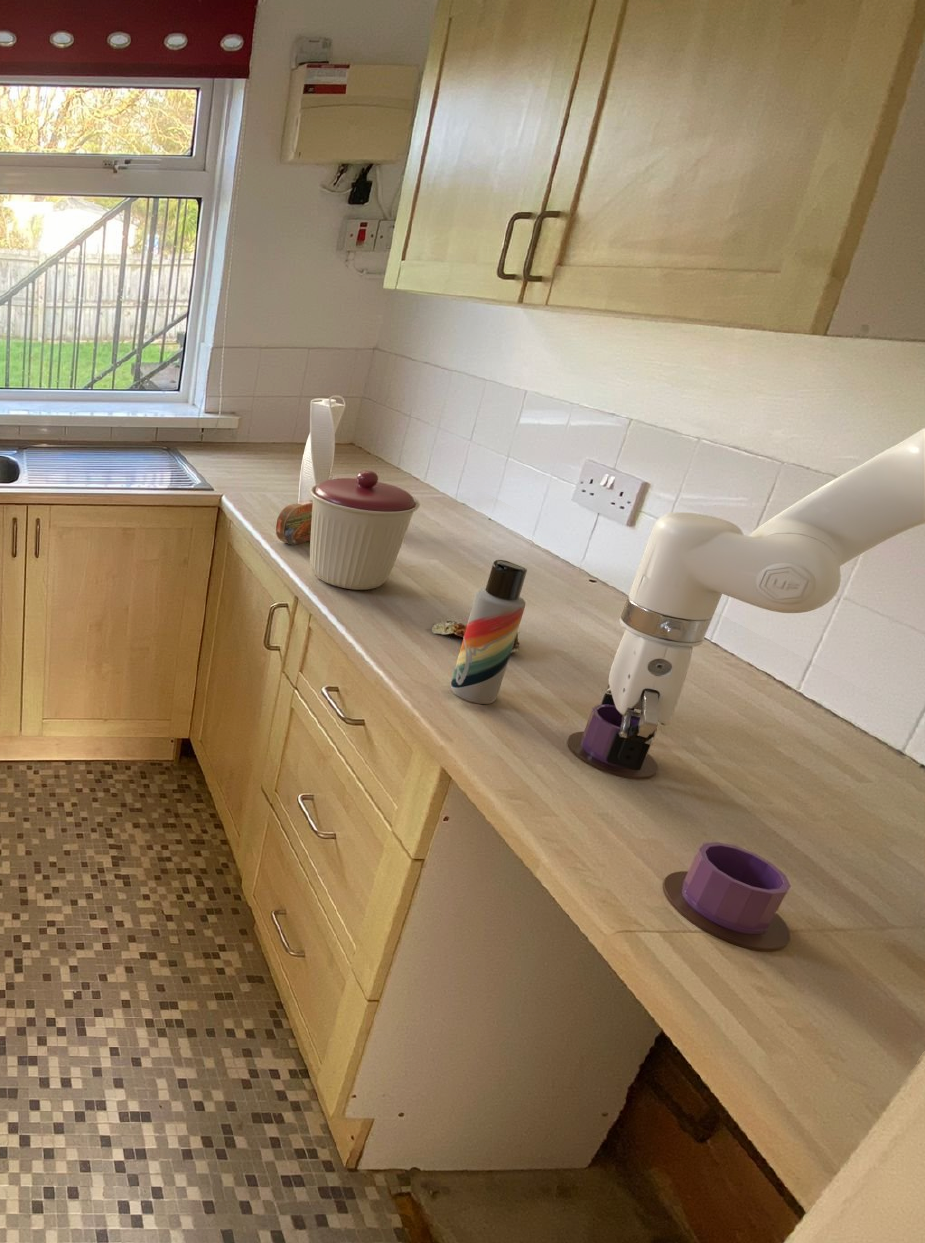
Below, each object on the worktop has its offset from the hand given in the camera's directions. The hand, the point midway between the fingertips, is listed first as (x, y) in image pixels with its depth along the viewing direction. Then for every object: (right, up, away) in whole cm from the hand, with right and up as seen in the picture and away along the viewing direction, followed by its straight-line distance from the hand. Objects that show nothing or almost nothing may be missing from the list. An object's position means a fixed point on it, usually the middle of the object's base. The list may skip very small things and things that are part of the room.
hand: (616, 744), depth 94 cm
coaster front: (-7, -10, -21) cm, 25 cm away
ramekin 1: (0, -1, +1) cm, 1 cm away
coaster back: (0, -2, +1) cm, 2 cm away
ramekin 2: (-7, -10, -21) cm, 25 cm away
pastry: (0, +9, +28) cm, 29 cm away
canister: (-11, +18, +50) cm, 54 cm away
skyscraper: (-2, +33, +86) cm, 92 cm away
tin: (-12, +26, +69) cm, 74 cm away
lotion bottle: (-9, +3, +13) cm, 17 cm away
